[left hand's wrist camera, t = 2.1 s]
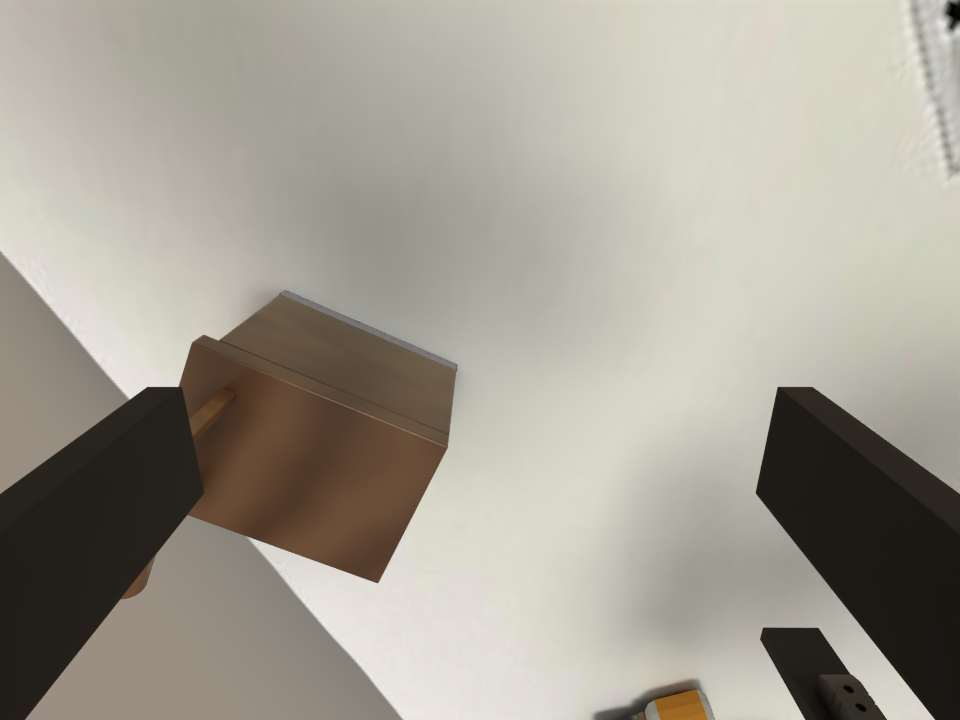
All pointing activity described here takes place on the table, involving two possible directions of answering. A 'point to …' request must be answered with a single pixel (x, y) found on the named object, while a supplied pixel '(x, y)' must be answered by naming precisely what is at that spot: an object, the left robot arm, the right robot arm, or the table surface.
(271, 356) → the chest
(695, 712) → the spray gun
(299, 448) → the lid
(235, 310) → the table surface
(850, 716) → the right robot arm
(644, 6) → the table surface
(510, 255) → the table surface
